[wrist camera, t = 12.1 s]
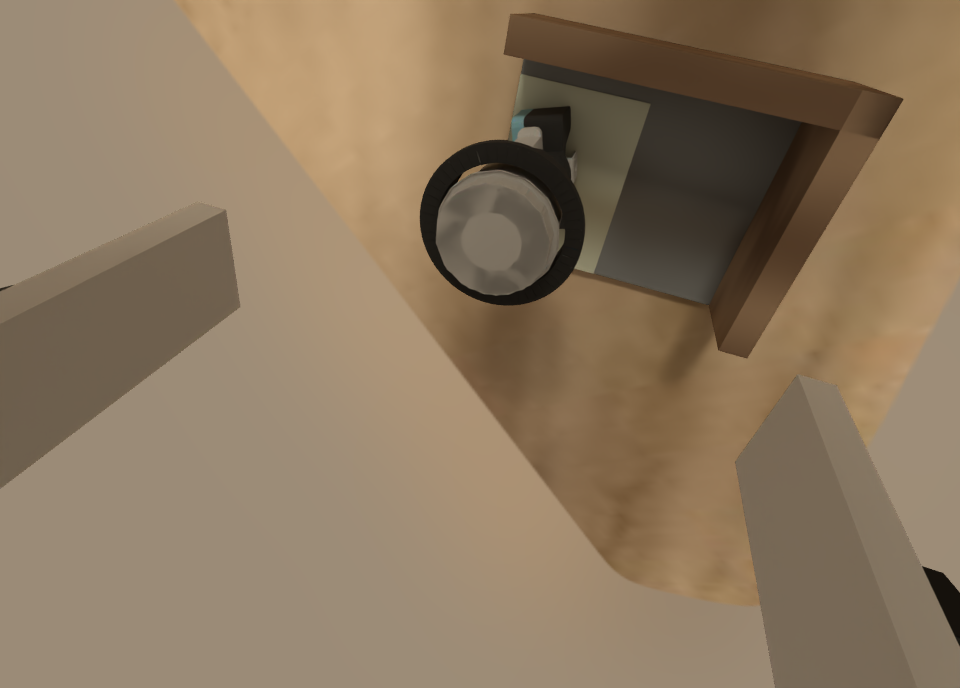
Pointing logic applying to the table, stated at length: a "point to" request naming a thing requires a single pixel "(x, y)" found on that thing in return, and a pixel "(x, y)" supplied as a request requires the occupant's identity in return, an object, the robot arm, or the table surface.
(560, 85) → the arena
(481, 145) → the push button
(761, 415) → the table surface
